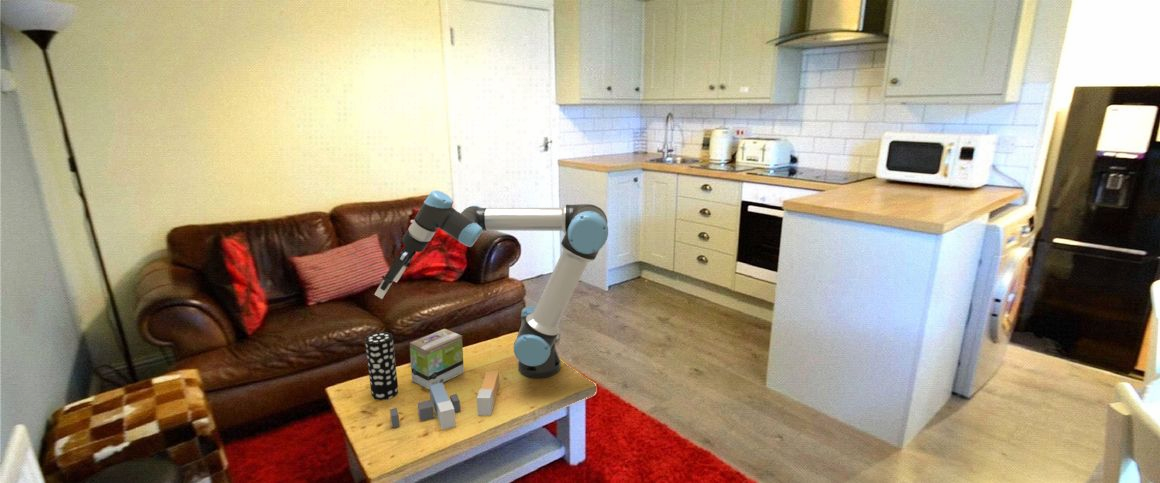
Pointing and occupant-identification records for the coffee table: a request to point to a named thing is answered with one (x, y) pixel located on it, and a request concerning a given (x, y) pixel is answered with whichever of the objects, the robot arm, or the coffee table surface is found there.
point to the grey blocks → (424, 410)
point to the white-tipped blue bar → (442, 406)
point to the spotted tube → (381, 365)
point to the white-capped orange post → (488, 393)
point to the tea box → (436, 358)
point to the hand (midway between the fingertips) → (386, 288)
